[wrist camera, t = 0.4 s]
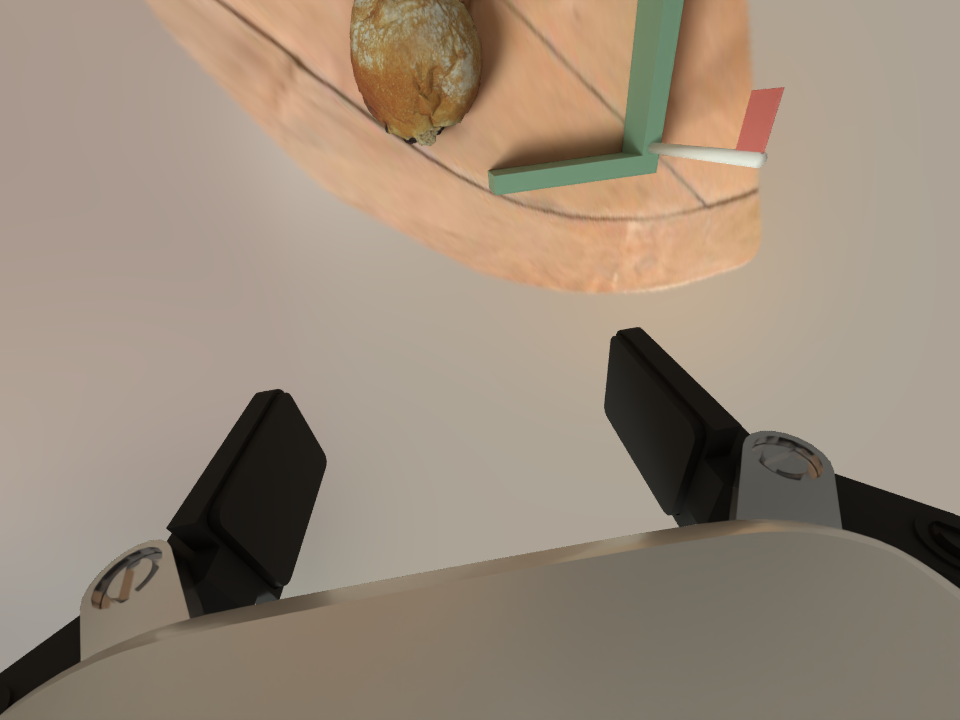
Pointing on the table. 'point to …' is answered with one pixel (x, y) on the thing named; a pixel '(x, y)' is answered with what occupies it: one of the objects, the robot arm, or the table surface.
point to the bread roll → (415, 64)
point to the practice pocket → (649, 118)
